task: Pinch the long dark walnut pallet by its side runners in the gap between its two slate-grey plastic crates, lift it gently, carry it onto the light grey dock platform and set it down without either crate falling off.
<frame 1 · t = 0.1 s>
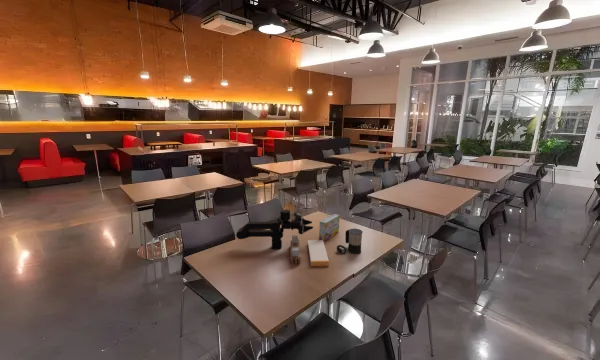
hand: (312, 224, 192), 17 cm above the table, tool horizontal, fingers open, 9 cm apart
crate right: (295, 254, 175), point 5 cm above the table, touching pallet
snack box: (329, 236, 213), on the table
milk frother: (348, 251, 189), on the table
crate 2: (294, 242, 192), point 5 cm above the table, touching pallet
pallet: (295, 254, 185), on the table, touching crate 2, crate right
dock: (317, 254, 185), on the table
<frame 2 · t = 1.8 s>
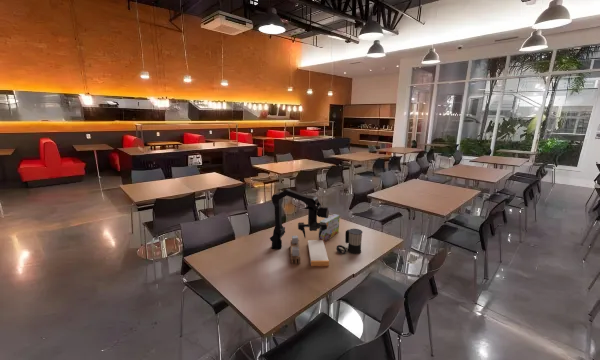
hand: (312, 237, 183), 12 cm above the table, tool pointing down, fingers open, 9 cm apart
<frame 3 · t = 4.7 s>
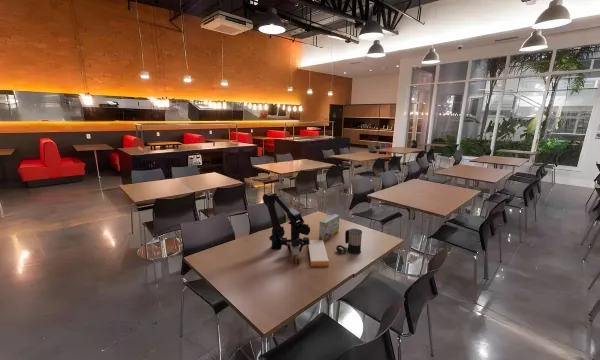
hand: (295, 252, 185), 1 cm above the table, tool pointing down, fingers closed on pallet, 6 cm apart
crate 2: (294, 242, 191), point 5 cm above the table
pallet: (295, 254, 185), on the table, touching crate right, gripper
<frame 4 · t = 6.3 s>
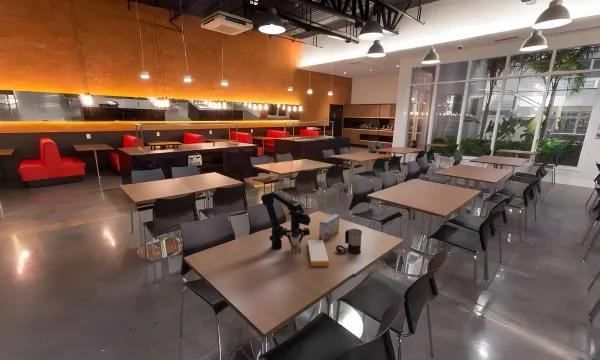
hand: (295, 243, 183), 8 cm above the table, tool pointing down, fingers closed on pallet, 6 cm apart
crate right: (295, 243, 175), point 12 cm above the table, touching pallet
crate 2: (294, 233, 190), point 12 cm above the table, touching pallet
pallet: (295, 245, 183), point 7 cm above the table, touching crate 2, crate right, gripper
everything else where it was.
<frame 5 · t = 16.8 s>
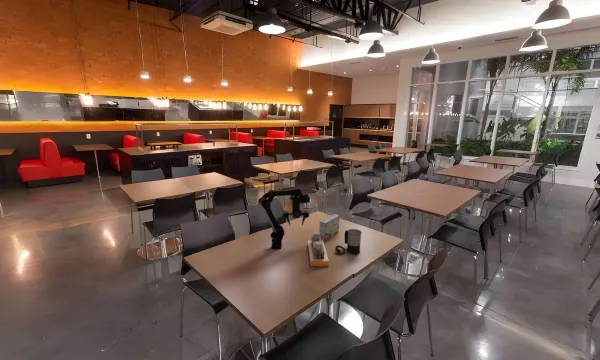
hand: (295, 225, 200), 13 cm above the table, tool pointing down, fingers open, 9 cm apart
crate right: (318, 248, 176), point 8 cm above the table, touching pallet
crate 2: (316, 238, 191), point 8 cm above the table, touching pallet
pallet: (317, 250, 185), point 3 cm above the table, touching crate 2, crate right, dock
at the end: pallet inside the target area (0.1 cm from its centre), point 3.0 cm above the table; crate 2 point 8.0 cm above the table; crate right point 8.0 cm above the table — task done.
